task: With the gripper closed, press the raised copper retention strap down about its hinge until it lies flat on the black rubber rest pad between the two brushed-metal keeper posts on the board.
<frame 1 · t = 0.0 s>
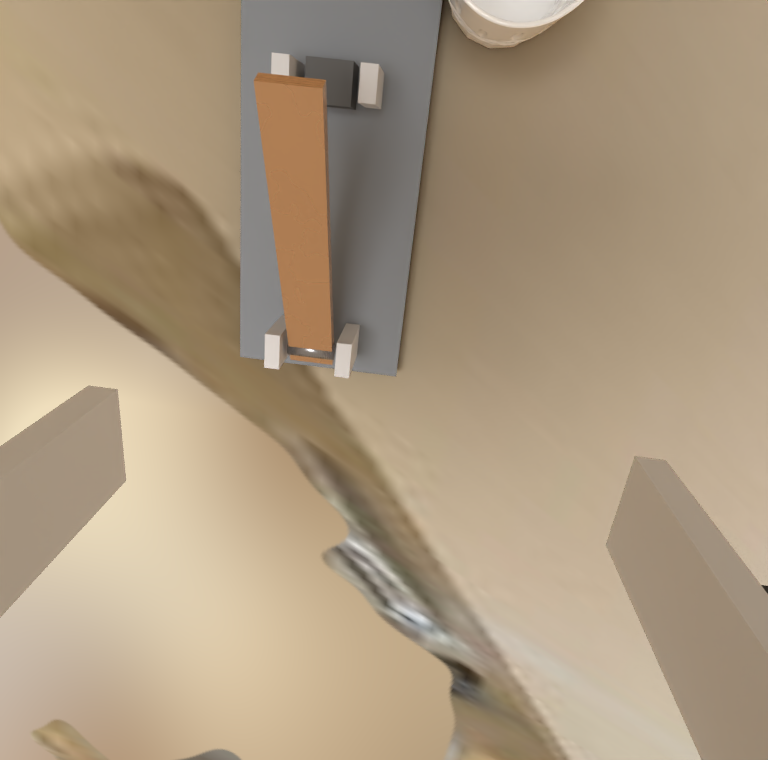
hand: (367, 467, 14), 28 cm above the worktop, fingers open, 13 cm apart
strap: (304, 252, 31), point 9 cm above the worktop, hinge at 30.0°
mount: (332, 193, 38), on the worktop
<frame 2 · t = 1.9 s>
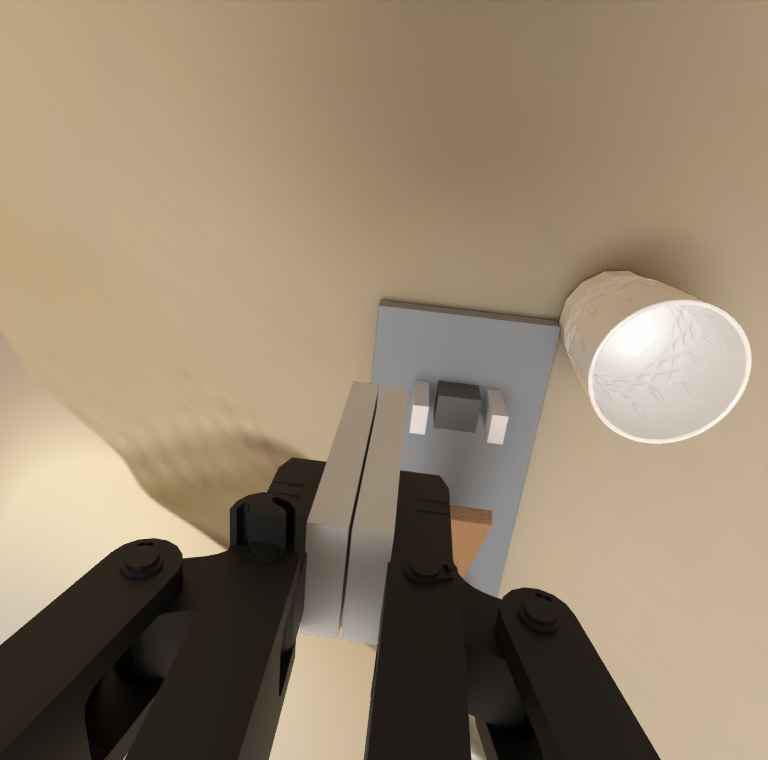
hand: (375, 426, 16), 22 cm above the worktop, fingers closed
white cup: (608, 318, 37), on the worktop
strap: (438, 573, 36), point 9 cm above the worktop, hinge at 30.0°
mount: (442, 466, 43), on the worktop
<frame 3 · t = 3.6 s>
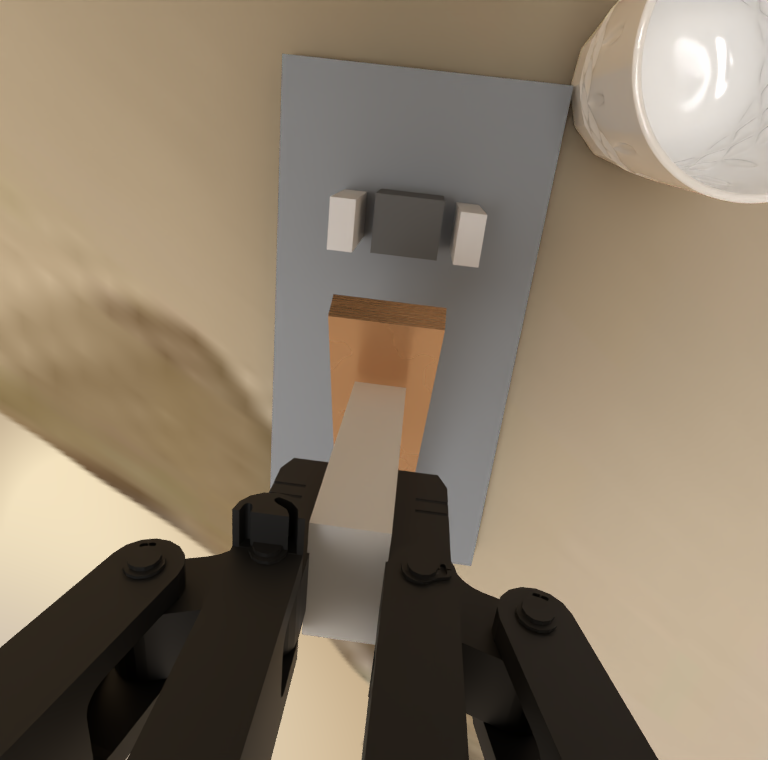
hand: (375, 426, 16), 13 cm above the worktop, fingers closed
white cup: (648, 85, 24), on the worktop
strap: (374, 478, 22), point 9 cm above the worktop, hinge at 30.0°, touching gripper
mount: (394, 344, 29), on the worktop
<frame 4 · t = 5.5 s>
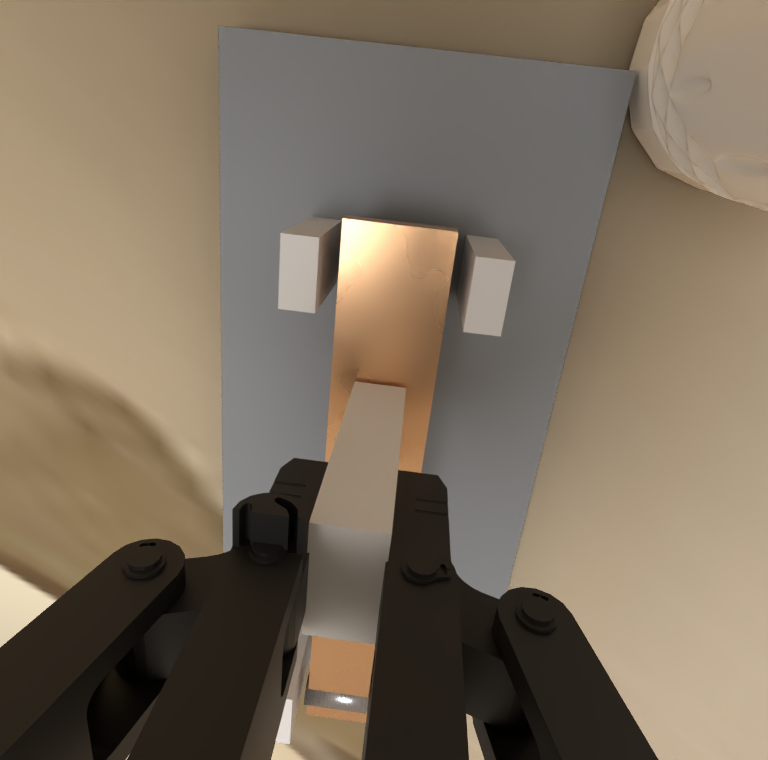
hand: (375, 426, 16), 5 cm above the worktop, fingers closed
white cup: (736, 72, 17), on the worktop
strap: (367, 516, 18), point 5 cm above the worktop, hinge at 0.6°, touching gripper
mount: (383, 415, 22), on the worktop
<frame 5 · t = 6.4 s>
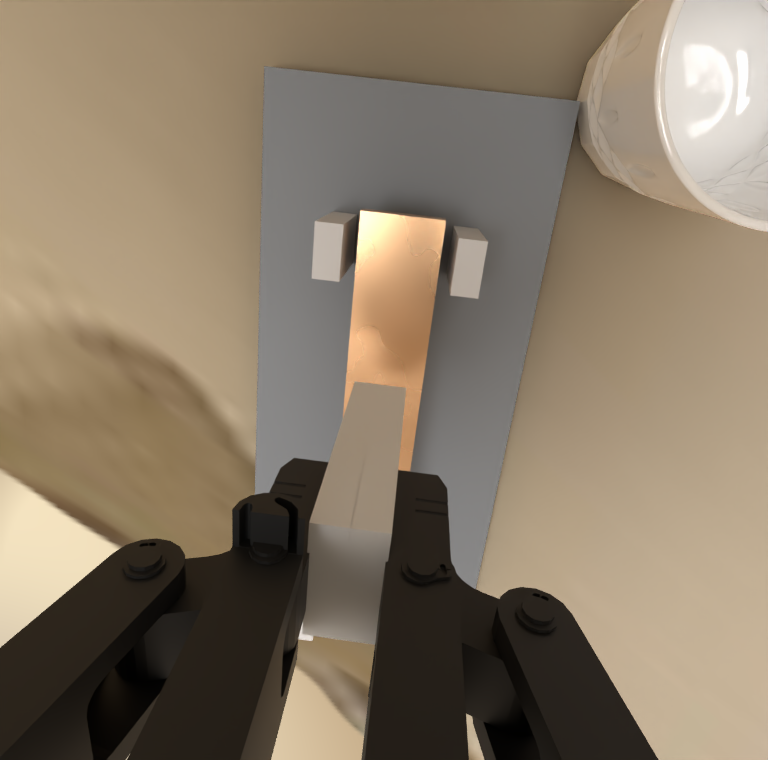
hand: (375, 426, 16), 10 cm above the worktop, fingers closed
white cup: (660, 101, 22), on the worktop
strap: (376, 447, 23), point 5 cm above the worktop, hinge at 0.6°
mount: (387, 375, 27), on the worktop
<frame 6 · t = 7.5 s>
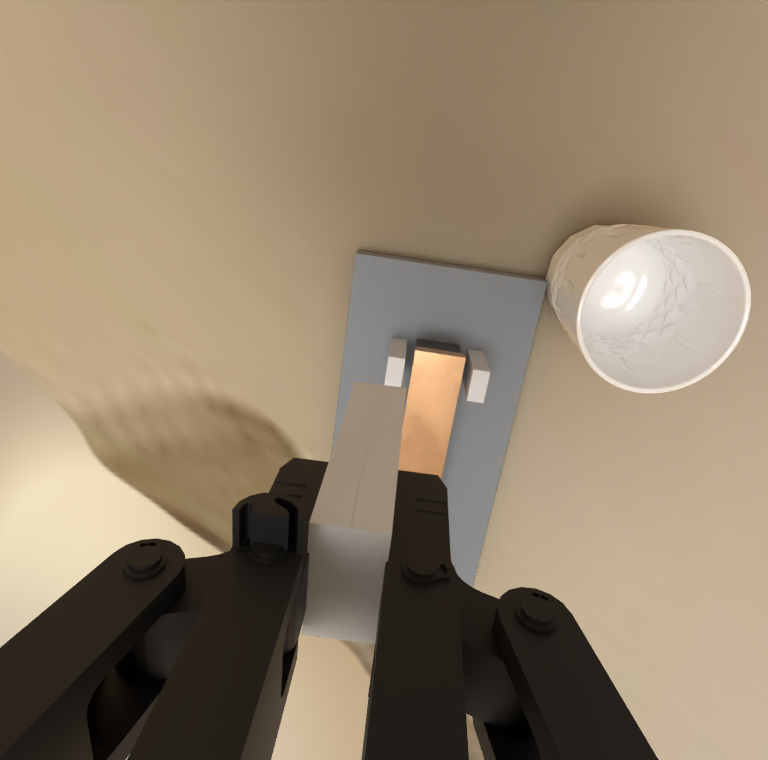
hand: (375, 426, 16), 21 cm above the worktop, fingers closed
white cup: (597, 277, 35), on the worktop
strap: (415, 487, 36), point 5 cm above the worktop, hinge at 0.6°
mount: (418, 436, 40), on the worktop
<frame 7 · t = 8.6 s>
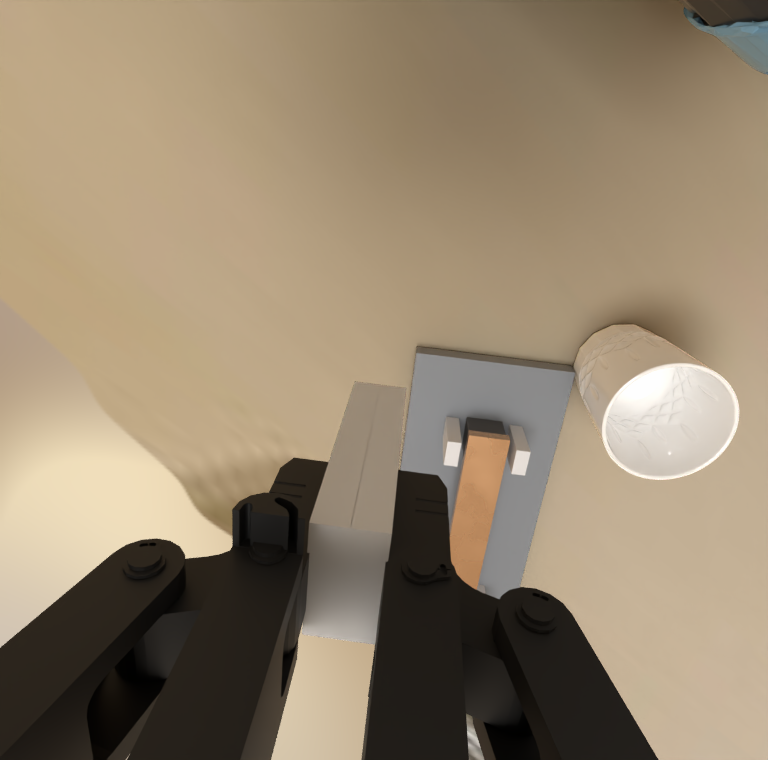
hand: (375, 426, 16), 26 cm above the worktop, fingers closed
white cup: (616, 364, 43), on the worktop
strap: (467, 538, 44), point 5 cm above the worktop, hinge at 0.6°
mount: (467, 490, 48), on the worktop
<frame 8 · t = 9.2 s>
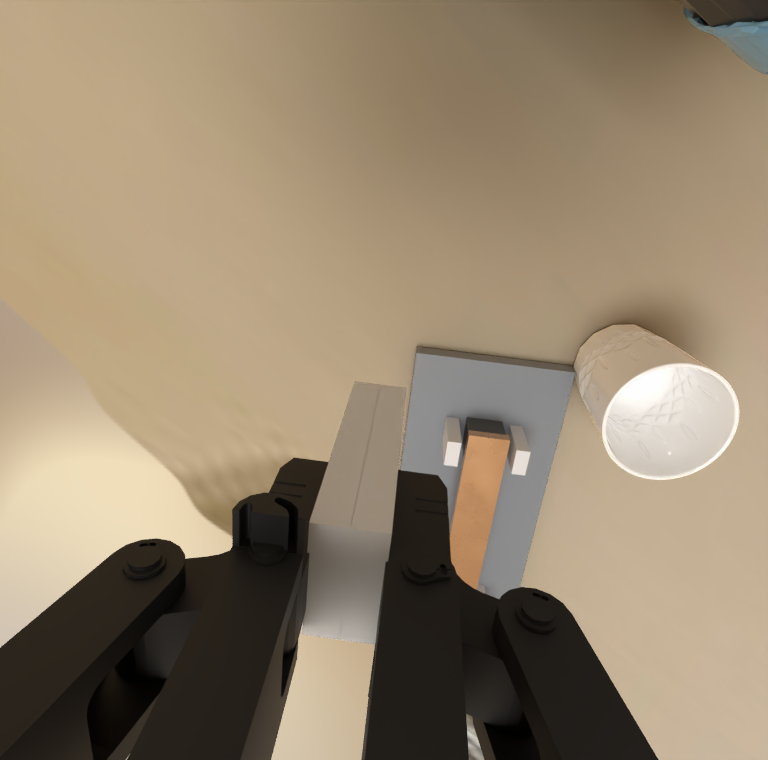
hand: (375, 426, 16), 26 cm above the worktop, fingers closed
white cup: (616, 364, 43), on the worktop
strap: (467, 538, 44), point 5 cm above the worktop, hinge at 0.6°
mount: (467, 490, 48), on the worktop
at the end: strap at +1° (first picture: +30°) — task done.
